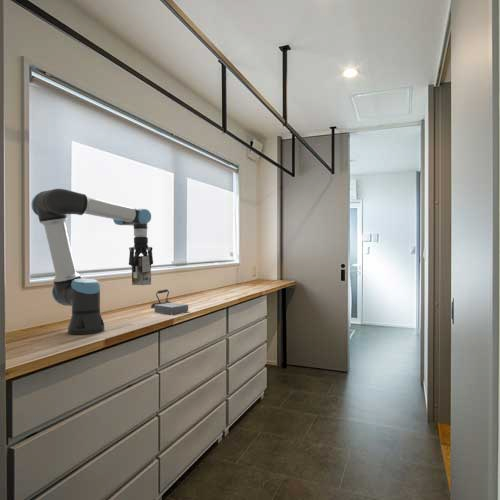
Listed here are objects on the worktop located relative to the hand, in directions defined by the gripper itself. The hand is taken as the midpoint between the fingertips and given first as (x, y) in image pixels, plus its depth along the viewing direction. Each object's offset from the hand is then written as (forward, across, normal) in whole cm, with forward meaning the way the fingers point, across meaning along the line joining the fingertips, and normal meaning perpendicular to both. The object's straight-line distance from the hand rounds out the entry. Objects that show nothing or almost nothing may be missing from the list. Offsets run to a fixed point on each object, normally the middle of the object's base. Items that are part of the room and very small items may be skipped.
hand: (141, 277), depth 206 cm
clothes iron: (+21, -27, -16) cm, 38 cm away
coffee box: (+4, 0, 0) cm, 4 cm away
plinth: (+21, -17, +5) cm, 27 cm away
